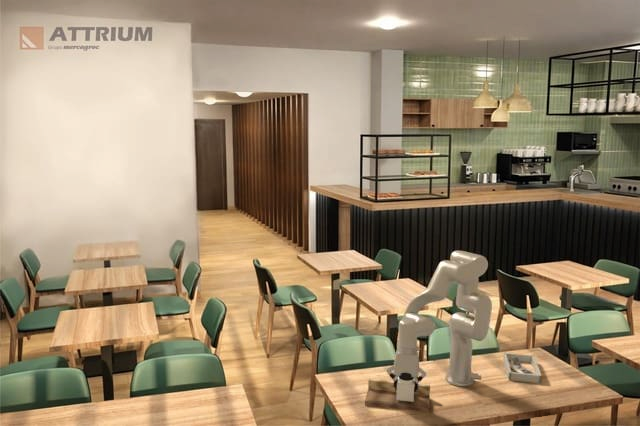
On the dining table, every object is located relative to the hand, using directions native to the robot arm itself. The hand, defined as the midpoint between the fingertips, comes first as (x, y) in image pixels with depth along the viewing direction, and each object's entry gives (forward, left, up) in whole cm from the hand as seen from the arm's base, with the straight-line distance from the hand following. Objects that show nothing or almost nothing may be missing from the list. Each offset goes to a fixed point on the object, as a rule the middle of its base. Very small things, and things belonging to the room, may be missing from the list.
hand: (405, 389), depth 230 cm
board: (+3, -1, -6) cm, 7 cm away
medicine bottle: (0, 0, -4) cm, 4 cm away
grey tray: (-52, -44, -6) cm, 68 cm away
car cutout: (-52, -44, -6) cm, 68 cm away
